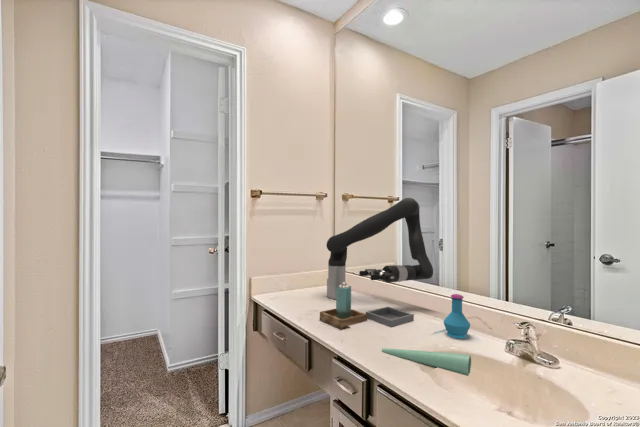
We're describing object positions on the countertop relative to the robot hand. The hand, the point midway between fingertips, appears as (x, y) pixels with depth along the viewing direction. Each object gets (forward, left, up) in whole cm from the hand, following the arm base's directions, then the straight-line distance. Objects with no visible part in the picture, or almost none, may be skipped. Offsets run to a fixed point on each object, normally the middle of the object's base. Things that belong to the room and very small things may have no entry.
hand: (365, 275), depth 144 cm
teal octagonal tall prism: (-2, -11, -17) cm, 20 cm away
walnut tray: (-2, -11, -18) cm, 21 cm away
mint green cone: (+41, -15, -19) cm, 47 cm away
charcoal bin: (+9, +5, -18) cm, 21 cm away
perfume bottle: (+34, +14, -19) cm, 42 cm away
